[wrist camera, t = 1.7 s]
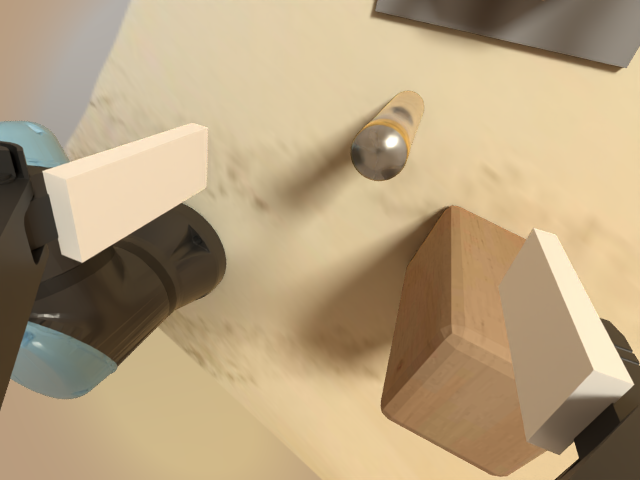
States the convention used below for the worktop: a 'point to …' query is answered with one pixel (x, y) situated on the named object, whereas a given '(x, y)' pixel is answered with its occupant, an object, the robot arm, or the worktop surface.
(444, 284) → the wooden block
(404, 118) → the brass-banded steel rod
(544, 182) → the worktop surface
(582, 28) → the wooden ring socket base
